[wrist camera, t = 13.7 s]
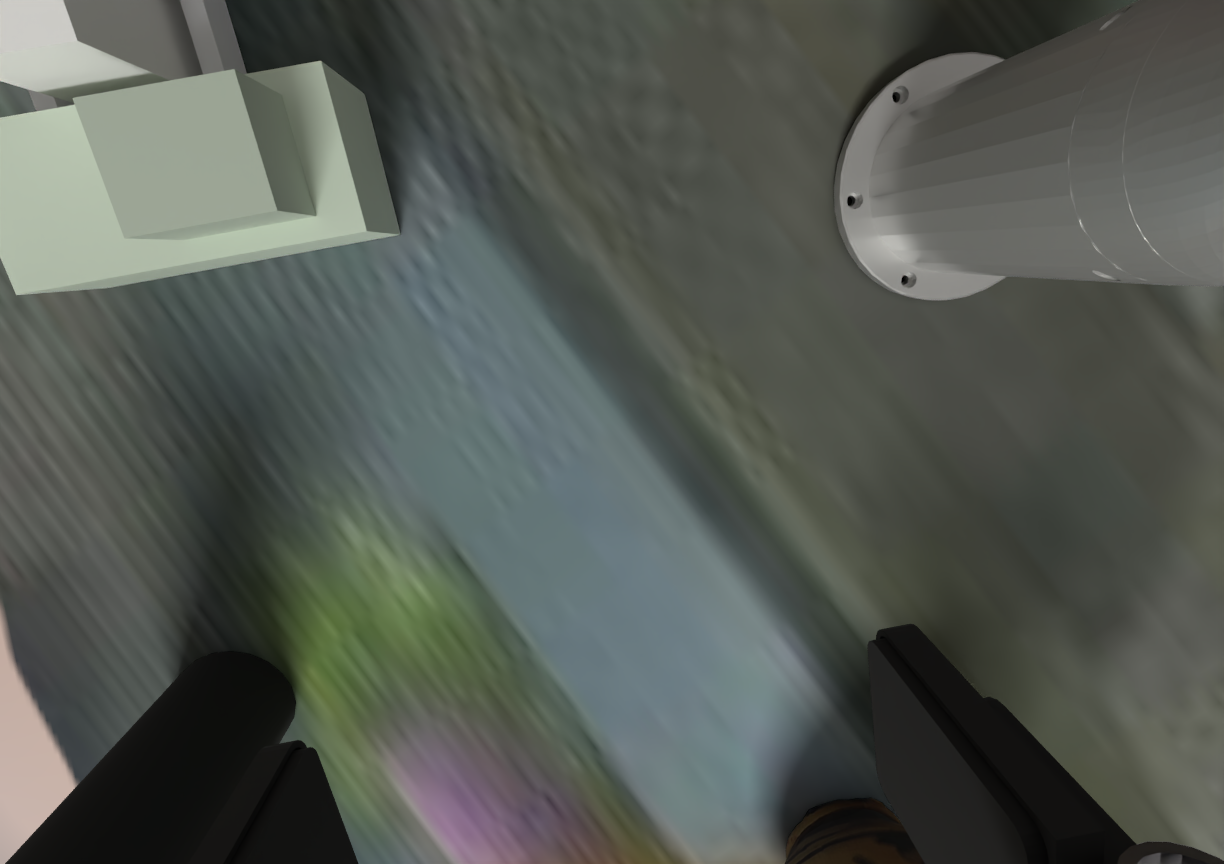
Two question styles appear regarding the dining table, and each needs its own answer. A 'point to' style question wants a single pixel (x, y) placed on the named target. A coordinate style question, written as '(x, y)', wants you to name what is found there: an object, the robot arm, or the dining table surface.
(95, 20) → the orange-topped white box
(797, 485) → the dining table surface
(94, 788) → the wine bottle
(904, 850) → the ceramic jug
